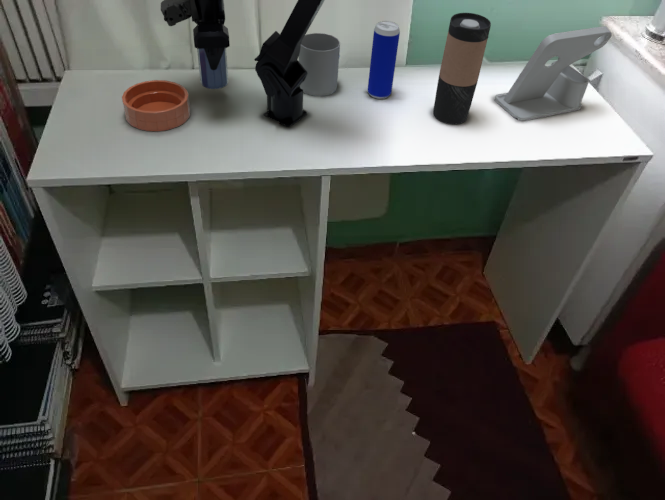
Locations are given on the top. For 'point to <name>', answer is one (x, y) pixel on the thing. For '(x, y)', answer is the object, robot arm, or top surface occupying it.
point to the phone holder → (553, 75)
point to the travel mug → (460, 67)
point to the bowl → (156, 105)
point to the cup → (320, 63)
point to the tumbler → (212, 71)
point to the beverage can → (383, 59)
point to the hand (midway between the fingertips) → (213, 62)
